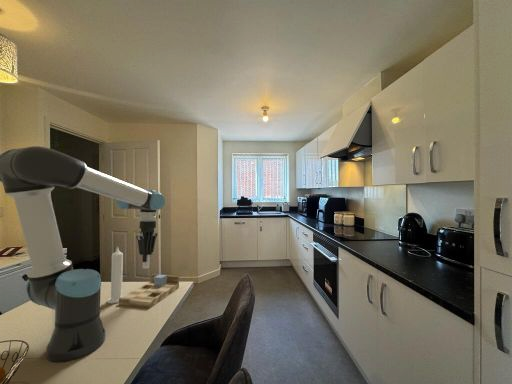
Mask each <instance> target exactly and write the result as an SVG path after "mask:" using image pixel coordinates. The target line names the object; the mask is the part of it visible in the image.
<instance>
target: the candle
mask: <svg viewBox="0 0 512 384" xmlns="http://www.w3.org/2000/svg"><path fill="white" fill-rule="evenodd" d="M123 263H124V253H123V252H121V251H120V249H119V246H117V247H116V249H115V252H113V253H112V254H111V272H110V273H111V276H110V277H111V278H110V279H111V280H110V285H111V286H110V297H109V298H108V299H107V303H108V304H119V298H121V297H123V296H124V295H123V270H124V269H123V267H124V266H123Z"/></svg>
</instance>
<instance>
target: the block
mask: <svg viewBox="0 0 512 384" xmlns="http://www.w3.org/2000/svg"><path fill="white" fill-rule="evenodd" d="M165 284H167V274H157V276H156V277H154V286H160V287H162V286H164V285H165Z"/></svg>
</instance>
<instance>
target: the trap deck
mask: <svg viewBox="0 0 512 384" xmlns="http://www.w3.org/2000/svg"><path fill="white" fill-rule="evenodd" d="M157 275H158V274H154V273H153V274H151V280H150V281H149V282H148V283H147V282H146V283H145V284H144V285H142V286H140V287H138V288H136V289H134V290H132V291H130V292H129V293H127V294H125V295H122V296H123V297H121V298H119V303H118V305H120V306H121V305H123V306H129V307H138V308H146V309H151V308H152V307H153V306H155V305H157V304H158V303H159V302H161V301H162V300H163V299H165V298H166V297H168V296H169V295H171V294H172V293H173V292H174V291H176V290H177V289H179V288H180V276H179V275H169V274H168V275H167V274H166V275H167V284H165V285H164V286H162V287H160V286H154V277H156V276H157Z"/></svg>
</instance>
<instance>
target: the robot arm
mask: <svg viewBox="0 0 512 384" xmlns="http://www.w3.org/2000/svg"><path fill="white" fill-rule="evenodd" d="M0 183H2V187H3V190H4V193H5V194H4V195H7V196H9V197H11V198H12V199H13V201H14V204H15V207H16V211H17V216H18V219H19V223H20V226H21V227H20V228H21V230H22V234H23V238H24V242H25V245H26V250H27V253H28V258H29V261H30V264H31V265H30V266H31V269H30V270H29V271H28V272H27V278H28V279H27V280H28V282H26V285H25V294H26V296H27V298H28V299H29V300H30V301H31V302H32V303H34V304H36V305H38V306H42V307H46V308H48V309H50V310H54V327H53V328H54V329H53V331H52V335H51V337H50V339H49V342H48V343H47V346H46V349H45V351H46V352H45V357H46V359H47V360H48V361H50V362H54V363H55V362H56V363H57V362H60V363H61V362H68V361H72V360H76V359H79V358H82V357H84V356H87V355H89V354H90V353H93V352H94V351H96V350H97V349H98V348H100V347H101V346H102V345H103V344H104V342H105V341H106V329H105V328H104V324H103V321H102V319H101V316H100V315H101V312H100V311H101V290H102V289H101V287H102V281H101V278H102V277H101V274H100V273H99V272H98V271H97V270H95V269H90V268H86V269H84V268H78V269H77V268H76V269H74V267H73V261H72V260H70V259H67V258H65V253H64V248H63V243H62V239H61V236H60V230H59V226H58V223H57V218H56V215H55V210H54V206H53V205H54V204H53V202H52V196H51V192H52V191H53V190H54V189H55V186H59V187H63V188H66V189H70V190H71V189H75V188H77V189H82V190H83V191H88V192H91V193H94V194H97V195H101V196H104V197H107V198H111V199H113V200H115V204H116V207H117V208H118V209H121V210H140V211H139V220H140V221H139V229H140V233H139V235H136V237H135V238H136V240H137V244H138V245H137V247H138V252H139V255H140V256H142V269H150V263H151V262H150V260H151V255H153V252H154V250H155V247H156V246H155V245H156V240H157V236H158V233H157V232H155V229H156V228H157V221H156V220H157V211H159V210H161V209H162V208H164V206H165V204H166V197H165V196H164V195H163V194H162V193H161V192H157V190H155V189H152V190H151V189H144V188H142V187H139V186H137V185H135V184H131V183H128V182H126V181H124V180H121V179H118V178H117V177H115V176H114V177H113V176H111V175H109V174H106V173H103V172H101V171H99V170H96V169H94V168H92V167H89V166H87V164H86V163H85V162H84V161H82V160H81V159H78V158H75V157H73V156H70V155H68V154H66V153H63V152H60V151H58V150H55V149H53V148H48V147H45V146H37V145H35V146H34V145H33V146H28V147H27V146H26V147H20V148H12V149H8V150H6V151H4V152H2V153H0Z"/></svg>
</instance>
